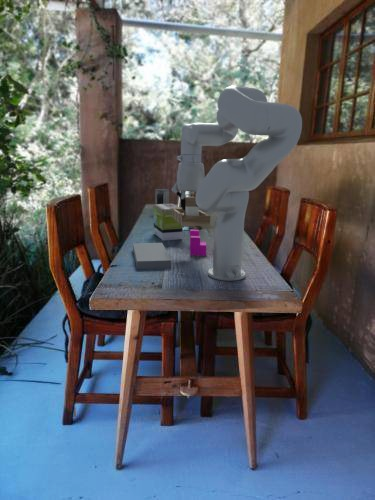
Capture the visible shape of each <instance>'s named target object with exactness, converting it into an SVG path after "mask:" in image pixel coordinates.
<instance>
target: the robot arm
mask: <svg viewBox="0 0 375 500" xmlns="http://www.w3.org/2000/svg"><path fill="white" fill-rule="evenodd" d="M267 98H268V97H267V96H266V94H265V93H264V91H262V90H260V89H258V88H255V87H249V86H248V87H247V86H239V85H230V86H227V87H225V88H224V89H223V90H222V91H221V92H220V94H219V96H218V99H217V109H218V110H217V112H216V121H217V123H212V122H211V123H208V122H193V123H188V124H187V123H186V124H182V126H181V128H180V131H181V132H180V135H181V136H180V155H177V156H176V160H177V161H180V162H179V163H178V167H177V171H176V181H175V183H174V185H173V186H172V188H171V191H172V193H174V194H175V195H176V196H178V197H179V198H180V208H182V209H183V210H185V197H186V196H185V195H186V192H194V195H195V197H196V207H198V208H199V210H200V211H202V212H204V213H218V212H219V213H218V215H216V219H215V223H214V230H213V232H214V233H213V234H214V235H213V236H214V237H213V254H212V256H213V257H212V267H211V268H209V269H208V270H207V275H208V276H209V277H210V278H212V279H215V280H219V281H226V282H227V281H228V282H233V281H240V280H243V279H244V278H245V277H246V272H245V271H244V270H243V269H242V259H243V257H242V256H243V242H244V229H245V219H246V218H245V217H246V213H247V212H246V211H247V207H248V204H249V199H250V192H249V191H253V190H255V189H256V188H258V187H259V186H260V185H261V184H262V183H263V181H265V179H266V178H267V177H268V176H269V175H270V174H271V173H272V172H273V171H274V169H275V168H276V167H277V166H278V165H279V164H280V163H281V162H282V161H283V160H284V159H285V158H286V157H288V155H289V154H290V153H291V152H292V151H293V150H294V148H295V147H296V145H297V144H298V142H299V140H300V138H301V134H302V130H303V118H302V115H301V113H300V111H299V110H298V109H297V108H296V107H294V106H293V105H291V104H290V105H289V104H286V103H281V102H280V103H279V102H272V101H269V102H268V99H267ZM239 130H240V131H241V132H243V133H245V134H248V135H251V136H266V137H265V138H263V139H262V140H260V141H259V142H257V143H256V144H255V145H254V146H253V147H252V148H251V149H250V150H249V152H248V153H247V154H246V155H245V156H243V157H242V158H225V159H221V160H219V161H217V162H216V163H215V164H214V165H212V167H211V168H210V170H209V171H208V172H207V174H206V173H205V166H204V163H202V151H203V150H202V149H203V148H202V147H205V146H206V147H207V146H209V147H220V146H224V145H225V144H227V143H230V142H232V141H233V140H234V139H235V138H236V136H237V135H238V132H239ZM205 174H206V175H205Z"/></svg>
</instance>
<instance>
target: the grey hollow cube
mask: <svg viewBox="0 0 375 500" xmlns="http://www.w3.org/2000/svg"><path fill="white" fill-rule="evenodd" d="M154 191H155V193H154V195H155V196H154V197H155V199H154V204H170V189H167V188H158V189H157V188H156V189H155V190H154Z"/></svg>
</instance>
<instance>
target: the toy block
mask: <svg viewBox="0 0 375 500" xmlns="http://www.w3.org/2000/svg"><path fill="white" fill-rule="evenodd" d="M189 255H190V256H205V257H206V256H207V243H206V241H205V240H204V241H201V236H200V229H190V230H189Z"/></svg>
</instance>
